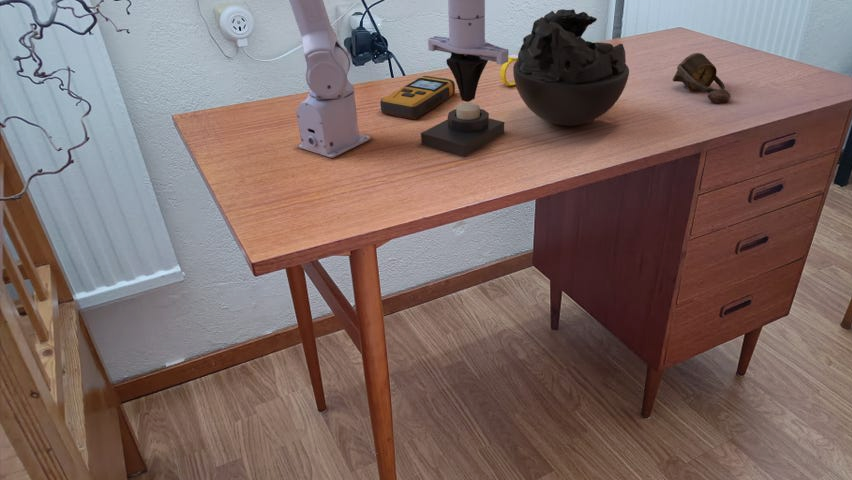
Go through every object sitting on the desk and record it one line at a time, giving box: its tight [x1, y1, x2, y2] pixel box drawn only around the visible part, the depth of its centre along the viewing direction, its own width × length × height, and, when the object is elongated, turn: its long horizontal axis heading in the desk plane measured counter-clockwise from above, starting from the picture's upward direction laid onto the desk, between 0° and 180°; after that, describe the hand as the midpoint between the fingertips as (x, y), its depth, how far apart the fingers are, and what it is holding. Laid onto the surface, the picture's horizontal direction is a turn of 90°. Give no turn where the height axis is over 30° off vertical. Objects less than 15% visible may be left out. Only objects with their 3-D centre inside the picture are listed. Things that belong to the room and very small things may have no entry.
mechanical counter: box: [672, 52, 732, 104], centre depth 130 cm, size 7×13×10 cm
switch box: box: [420, 108, 505, 158], centre depth 112 cm, size 12×9×4 cm
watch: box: [499, 54, 518, 87], centre depth 135 cm, size 6×3×6 cm, turn 128°
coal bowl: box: [512, 8, 630, 127], centre depth 114 cm, size 20×20×19 cm
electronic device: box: [379, 75, 456, 120], centre depth 126 cm, size 8×16×3 cm, turn 154°
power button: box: [455, 102, 481, 120], centre depth 112 cm, size 4×4×2 cm
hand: (468, 99), depth 111 cm, fingers closed
